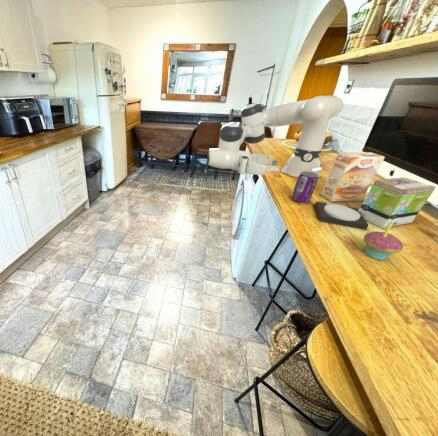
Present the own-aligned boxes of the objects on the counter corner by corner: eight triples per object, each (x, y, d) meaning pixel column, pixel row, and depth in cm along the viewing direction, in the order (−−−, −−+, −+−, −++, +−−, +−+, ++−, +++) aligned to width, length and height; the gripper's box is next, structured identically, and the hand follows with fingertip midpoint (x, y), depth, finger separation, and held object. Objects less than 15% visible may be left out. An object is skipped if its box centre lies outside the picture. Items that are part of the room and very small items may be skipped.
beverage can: (311, 204, 100) (322, 177, 94) (293, 203, 101) (303, 176, 95) (305, 197, 106) (315, 171, 100) (288, 196, 107) (297, 170, 101)
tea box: (383, 229, 84) (407, 190, 76) (354, 215, 92) (373, 179, 85) (412, 223, 87) (437, 185, 80) (382, 211, 96) (402, 175, 88)
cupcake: (383, 267, 66) (407, 231, 60) (350, 249, 73) (369, 215, 67) (400, 259, 69) (424, 224, 63) (367, 243, 76) (386, 210, 70)
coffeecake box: (331, 201, 102) (351, 156, 92) (319, 195, 108) (337, 152, 99) (363, 200, 104) (386, 156, 94) (349, 194, 110) (370, 151, 100)
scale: (314, 205, 99) (316, 198, 98) (354, 212, 94) (358, 205, 93) (319, 220, 88) (322, 213, 87) (366, 229, 83) (370, 222, 82)
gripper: (244, 162, 115) (275, 166, 110) (239, 175, 99) (275, 180, 94) (247, 149, 112) (279, 152, 107) (242, 160, 96) (280, 165, 91)
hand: (277, 165), depth 101 cm, fingers open, 8 cm apart
